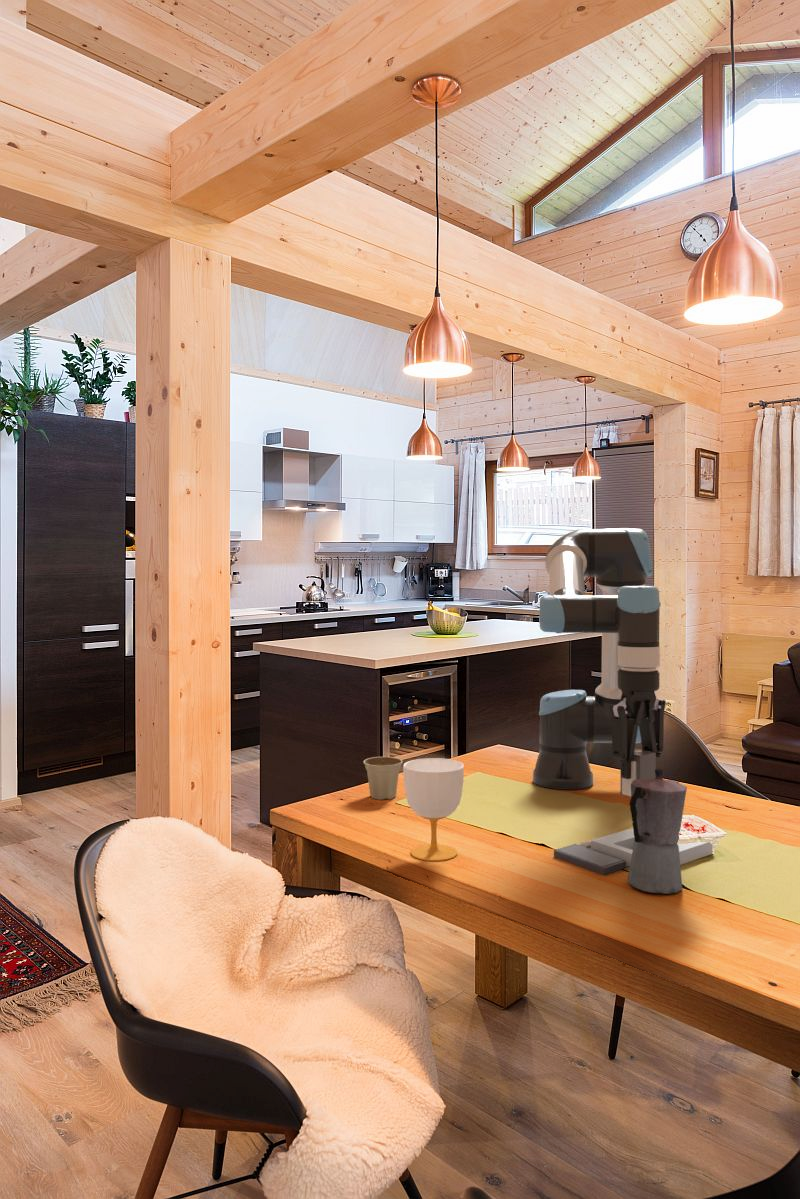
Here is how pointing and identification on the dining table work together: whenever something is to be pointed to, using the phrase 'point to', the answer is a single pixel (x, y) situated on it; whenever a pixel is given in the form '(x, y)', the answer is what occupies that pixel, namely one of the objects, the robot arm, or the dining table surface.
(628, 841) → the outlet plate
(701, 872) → the dining table surface
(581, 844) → the cable
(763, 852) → the dining table surface
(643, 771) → the charger block
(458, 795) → the cup
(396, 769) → the flower pot
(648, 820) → the moka pot
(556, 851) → the phone
